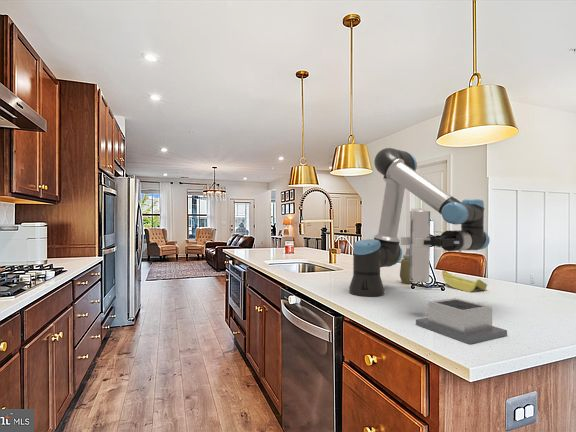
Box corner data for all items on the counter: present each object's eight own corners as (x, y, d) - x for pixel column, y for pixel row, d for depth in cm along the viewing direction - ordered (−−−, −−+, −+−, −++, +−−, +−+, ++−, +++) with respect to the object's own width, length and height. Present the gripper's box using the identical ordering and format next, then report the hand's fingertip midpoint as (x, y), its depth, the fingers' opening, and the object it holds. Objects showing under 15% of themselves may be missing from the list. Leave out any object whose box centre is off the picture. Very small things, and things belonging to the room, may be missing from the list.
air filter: (431, 282, 110) (432, 208, 111) (410, 281, 112) (411, 208, 112) (427, 279, 117) (427, 208, 117) (407, 278, 118) (408, 208, 118)
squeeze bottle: (416, 282, 173) (416, 248, 173) (415, 285, 166) (415, 249, 166) (400, 281, 176) (400, 247, 177) (398, 283, 169) (399, 248, 169)
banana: (489, 285, 154) (477, 278, 150) (483, 300, 153) (471, 292, 149) (452, 276, 172) (440, 268, 168) (447, 289, 171) (435, 281, 167)
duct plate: (415, 324, 103) (415, 300, 103) (451, 318, 110) (451, 295, 110) (469, 344, 86) (469, 315, 86) (507, 335, 93) (507, 309, 93)
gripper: (478, 253, 114) (430, 255, 104) (433, 248, 131) (388, 250, 120) (478, 231, 114) (430, 232, 104) (434, 229, 131) (389, 229, 120)
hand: (408, 241), depth 112 cm, fingers closed on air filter, 5 cm apart
